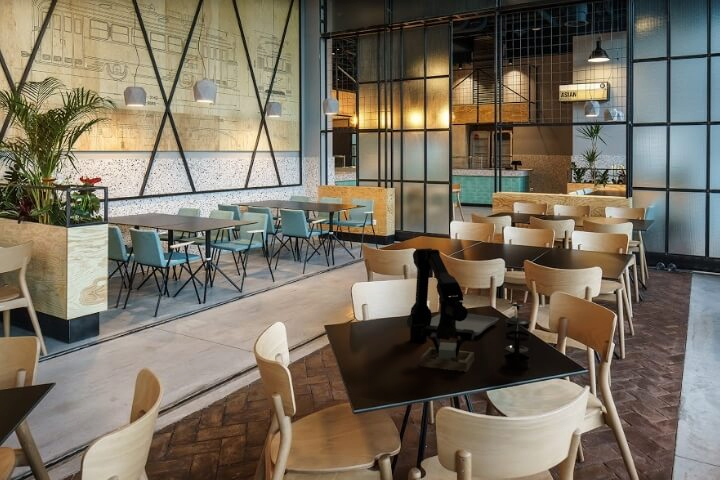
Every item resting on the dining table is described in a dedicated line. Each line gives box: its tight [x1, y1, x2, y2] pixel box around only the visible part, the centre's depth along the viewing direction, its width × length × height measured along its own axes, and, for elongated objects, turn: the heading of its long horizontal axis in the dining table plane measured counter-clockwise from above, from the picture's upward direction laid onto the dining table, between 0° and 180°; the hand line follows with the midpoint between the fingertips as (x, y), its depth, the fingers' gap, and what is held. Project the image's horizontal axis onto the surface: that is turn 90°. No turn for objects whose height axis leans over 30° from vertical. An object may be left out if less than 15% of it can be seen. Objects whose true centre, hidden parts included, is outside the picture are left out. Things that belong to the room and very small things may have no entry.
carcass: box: [419, 347, 475, 373], centre depth 219 cm, size 17×13×4 cm
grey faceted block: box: [439, 341, 457, 360], centre depth 218 cm, size 6×9×4 cm, turn 168°
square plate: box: [430, 313, 500, 337], centre depth 266 cm, size 27×27×4 cm
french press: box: [502, 303, 532, 371], centre depth 215 cm, size 12×9×23 cm
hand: (447, 355), depth 219 cm, fingers closed on grey faceted block, 6 cm apart
